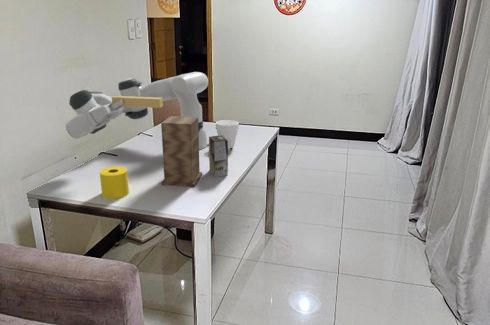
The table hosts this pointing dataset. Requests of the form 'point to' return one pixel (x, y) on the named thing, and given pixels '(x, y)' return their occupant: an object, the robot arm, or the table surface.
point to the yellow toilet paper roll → (114, 182)
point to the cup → (228, 130)
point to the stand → (180, 151)
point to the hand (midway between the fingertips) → (125, 99)
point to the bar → (139, 101)
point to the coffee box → (218, 155)
